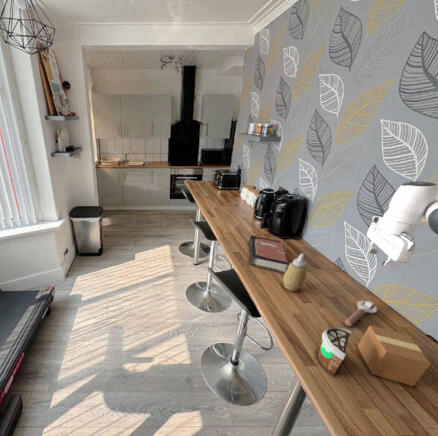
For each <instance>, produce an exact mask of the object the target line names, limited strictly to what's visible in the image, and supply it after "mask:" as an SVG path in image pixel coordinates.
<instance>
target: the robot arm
mask: <svg viewBox="0 0 438 436" xmlns="http://www.w3.org/2000/svg"><path fill="white" fill-rule="evenodd" d="M371 221H372V222H371V223H370V225H369V227H368V229H367V232H366V237H367V239H369V240H370V249H369V250H368V252H369V253H370V254H371V255H377V254H378V252H379V250H378V248H379V249H380V250H381V251H382V252H383V253H384V254H385V255H387V260H383V262H382V264H381V265H382V266H383V267H384V268H387V269H390V268H391V267H392V266H393V265H394V264H395V263H400V264H407V263H409V262H411V259H412V257H413V255H414V253H415V250H416V242H415V238H414V237H413V234H414V232H415V231H416V229H417V227H418V226H419V224H420V223H421V222H424V223H428V226H429V228H430V230H431V231H432V232H433V233H434V234H436V235H438V185H437V184H436V183H433V182H429V181H418V180H417V181H416V180H415V181H407V182H405V183H402V184H401V185H400V186H399V187H398V188H397V189H396V191H395V193H394V194H393V196H392V198H391V199H390V201H389V204H388V208H387V210H386V211H385V212H384V213H383V215H382V216H378V215H374V216H373V217H372V219H371Z"/></svg>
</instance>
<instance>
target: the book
mask: <svg viewBox="0 0 438 436" xmlns="http://www.w3.org/2000/svg"><path fill="white" fill-rule="evenodd" d="M248 244H249V245H250V246H249V247H250V259H249V265H250V266H253V267H257V268H263V269H268V270H272V271H276V272H280V273H284V274H285V273H286V271H287V268H288V267H289V264H288V260H287V257H286V255H287V254H286V252H287V251H286V250H285V249H284V246H283V243H282V241H281V240H276V239H272V238H266V237H259V236H257V235H253V234H252V235H251V234H250V238H249V242H248Z"/></svg>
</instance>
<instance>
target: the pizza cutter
mask: <svg viewBox="0 0 438 436" xmlns="http://www.w3.org/2000/svg"><path fill="white" fill-rule="evenodd" d="M356 306H357V309H356V310H355V311H354V312H353V313H352V314H351V315H350V316H348V317H347V318H346V319H345V320H344V325H346V326H347V327H352V326H353V325H354V324H355V323H356V322H358V321H359V320H360V319H361V318H362V317H363V316H364V315H366V313H368V314H375V313H376V312H377V311H378V307H377V306H376V305H374V302H372V301H369V300H368V299H367V300H359V301H357V302H356Z"/></svg>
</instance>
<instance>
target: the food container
mask: <svg viewBox="0 0 438 436" xmlns="http://www.w3.org/2000/svg"><path fill="white" fill-rule="evenodd" d="M351 334H352V331H351V330H349V329H346V328H344V327H339V326H331V327H328V328H326V329H325V330H324V331H323V332H322V334H321V340H322V341H321V345H320V348H319V351H318V352H317V353H318V354H317V358H318V360H319V362H320V364H321V365H322V366H323V367H324V369H326V370H327V371H328V372H329V373H330V374H332V375H335V373H336V372H337V370H338V368H339V366H340V365H341V363H342V361H343V360H344V359H345V357H346V355H347V354H346V350H347V346H348V343H349V338H350V335H351Z"/></svg>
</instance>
